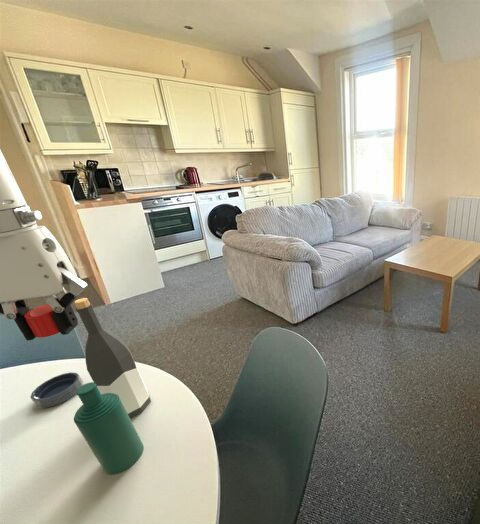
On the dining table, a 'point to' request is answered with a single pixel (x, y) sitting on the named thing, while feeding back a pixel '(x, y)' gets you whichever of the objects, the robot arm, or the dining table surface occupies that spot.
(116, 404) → the water bottle
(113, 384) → the wine bottle
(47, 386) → the dish
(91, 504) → the dining table surface
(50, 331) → the cap
